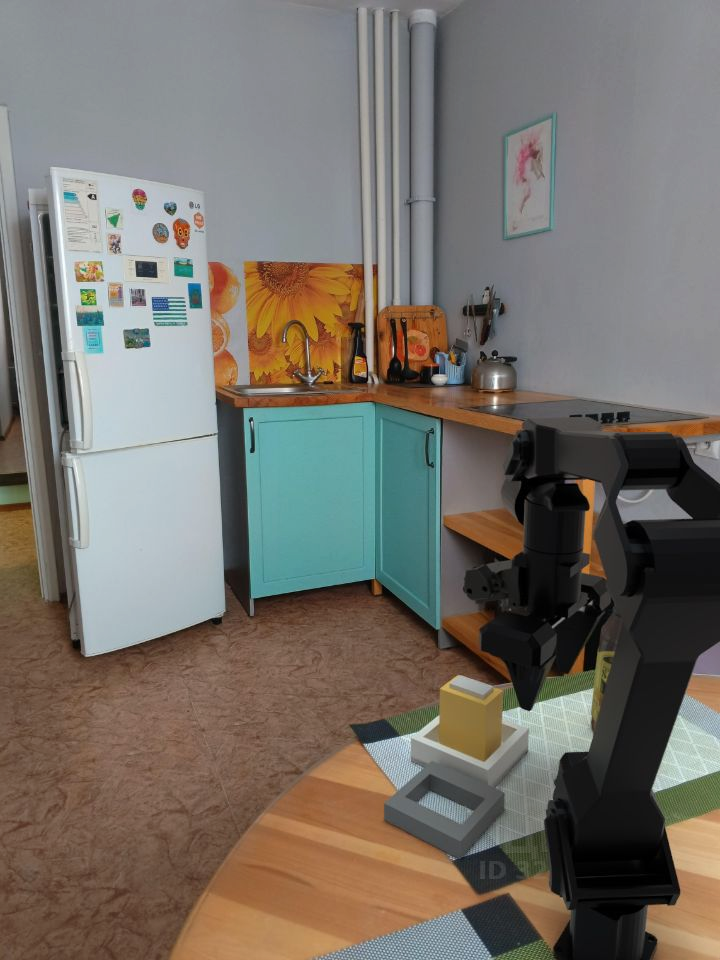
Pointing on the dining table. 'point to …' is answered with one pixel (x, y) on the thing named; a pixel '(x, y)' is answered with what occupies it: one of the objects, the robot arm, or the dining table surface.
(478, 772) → the tray
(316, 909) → the dining table surface
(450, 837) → the grey square frame
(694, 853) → the dining table surface
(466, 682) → the block
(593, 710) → the sauce bottle
